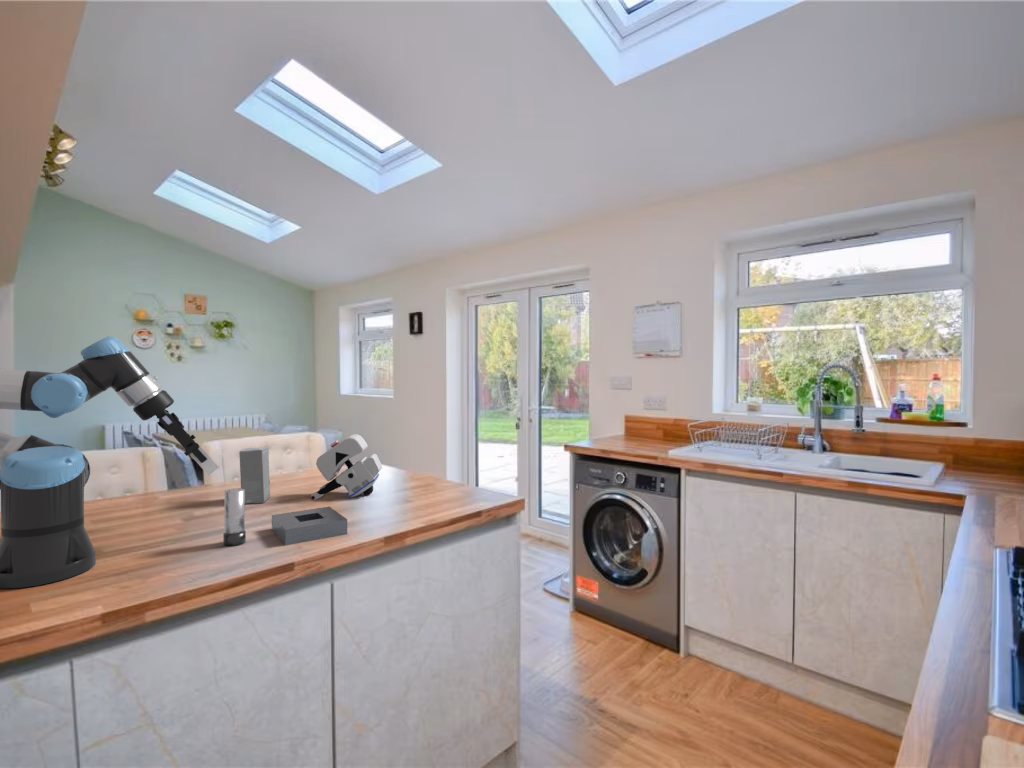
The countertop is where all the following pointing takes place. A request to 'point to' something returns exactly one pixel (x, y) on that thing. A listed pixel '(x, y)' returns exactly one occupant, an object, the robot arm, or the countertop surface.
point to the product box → (255, 474)
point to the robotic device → (356, 475)
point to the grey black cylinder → (234, 517)
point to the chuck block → (308, 525)
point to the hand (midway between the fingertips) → (210, 466)
